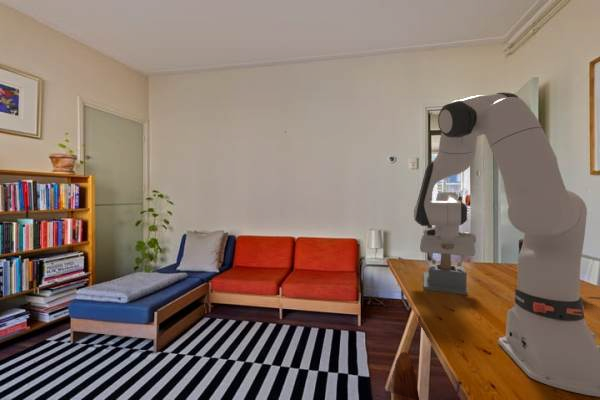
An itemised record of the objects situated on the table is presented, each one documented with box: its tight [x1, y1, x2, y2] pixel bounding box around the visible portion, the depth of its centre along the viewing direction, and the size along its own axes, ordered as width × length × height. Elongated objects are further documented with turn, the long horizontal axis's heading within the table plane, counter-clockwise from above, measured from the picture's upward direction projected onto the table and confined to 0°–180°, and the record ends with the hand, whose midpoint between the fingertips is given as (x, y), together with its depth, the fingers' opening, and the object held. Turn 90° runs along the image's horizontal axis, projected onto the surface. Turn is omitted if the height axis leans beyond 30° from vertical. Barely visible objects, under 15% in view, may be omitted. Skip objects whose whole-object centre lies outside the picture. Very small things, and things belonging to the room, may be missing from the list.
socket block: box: [423, 262, 469, 296], centre depth 118 cm, size 22×15×7 cm
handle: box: [439, 244, 454, 270], centre depth 116 cm, size 5×6×15 cm
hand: (446, 264), depth 116 cm, fingers open, 8 cm apart
